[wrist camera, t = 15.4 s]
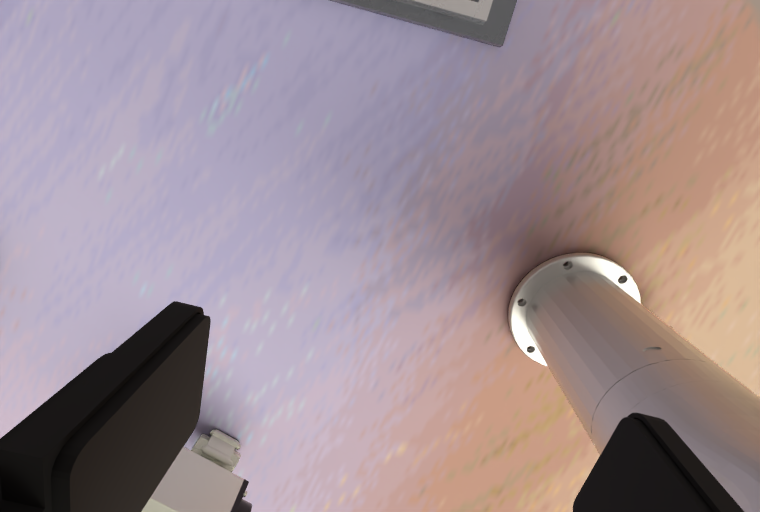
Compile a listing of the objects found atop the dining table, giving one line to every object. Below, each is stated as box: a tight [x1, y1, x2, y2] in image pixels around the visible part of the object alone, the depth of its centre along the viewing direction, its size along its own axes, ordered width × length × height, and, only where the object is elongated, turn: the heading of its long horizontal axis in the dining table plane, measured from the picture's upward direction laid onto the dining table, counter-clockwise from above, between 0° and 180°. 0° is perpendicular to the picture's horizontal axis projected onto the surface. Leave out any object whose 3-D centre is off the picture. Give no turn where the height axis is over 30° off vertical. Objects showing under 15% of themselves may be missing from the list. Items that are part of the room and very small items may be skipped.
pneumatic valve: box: [141, 429, 252, 512], centre depth 43 cm, size 6×12×12 cm, turn 55°
